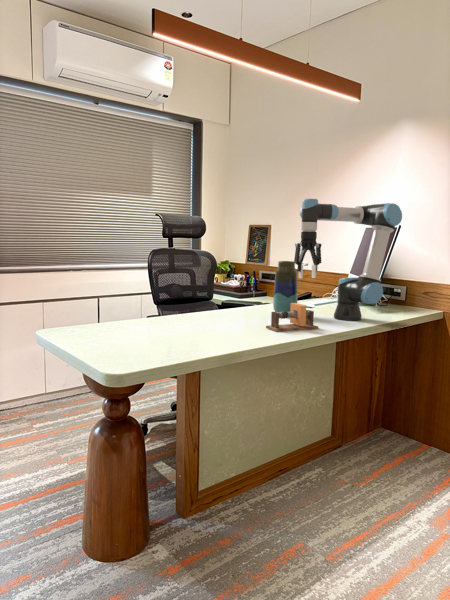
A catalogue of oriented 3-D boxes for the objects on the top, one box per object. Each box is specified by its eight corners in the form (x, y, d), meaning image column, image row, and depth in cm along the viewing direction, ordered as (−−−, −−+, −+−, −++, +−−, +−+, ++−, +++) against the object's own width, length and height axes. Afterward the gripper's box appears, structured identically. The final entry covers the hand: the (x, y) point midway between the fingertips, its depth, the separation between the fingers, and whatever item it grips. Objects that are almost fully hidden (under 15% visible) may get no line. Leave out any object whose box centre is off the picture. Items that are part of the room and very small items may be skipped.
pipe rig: (307, 325, 238) (308, 308, 237) (318, 328, 229) (319, 311, 227) (266, 328, 229) (266, 310, 228) (275, 331, 220) (276, 313, 219)
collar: (295, 322, 235) (295, 302, 233) (305, 325, 226) (306, 305, 224) (289, 322, 234) (290, 303, 232) (300, 326, 224) (301, 305, 223)
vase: (268, 315, 266) (270, 261, 261) (279, 312, 277) (280, 260, 273) (291, 318, 258) (293, 262, 254) (300, 314, 270) (302, 261, 266)
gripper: (321, 231, 232) (319, 277, 235) (287, 230, 225) (285, 277, 228) (330, 231, 225) (328, 278, 228) (295, 230, 218) (293, 279, 221)
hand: (307, 277), depth 228 cm, fingers open, 7 cm apart
